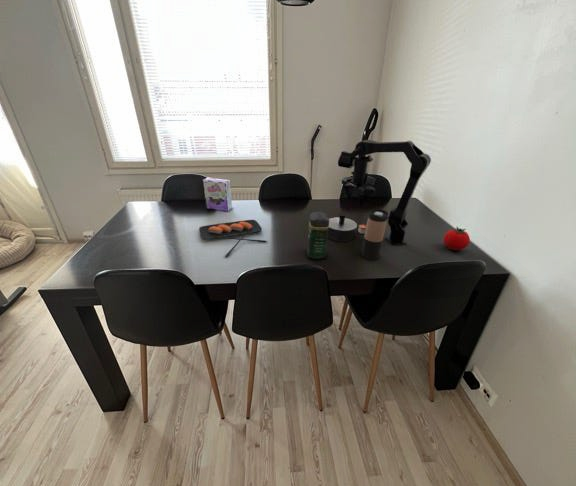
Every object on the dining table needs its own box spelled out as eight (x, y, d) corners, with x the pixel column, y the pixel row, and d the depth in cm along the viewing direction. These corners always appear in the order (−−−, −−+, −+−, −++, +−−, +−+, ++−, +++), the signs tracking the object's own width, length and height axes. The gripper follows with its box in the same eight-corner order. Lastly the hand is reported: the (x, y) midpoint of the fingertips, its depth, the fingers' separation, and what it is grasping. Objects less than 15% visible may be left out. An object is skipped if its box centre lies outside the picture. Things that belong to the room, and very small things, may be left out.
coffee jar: (326, 260, 124) (331, 219, 113) (308, 260, 123) (311, 219, 113) (323, 248, 132) (327, 209, 121) (306, 248, 131) (308, 209, 121)
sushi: (370, 229, 149) (371, 224, 147) (373, 232, 146) (374, 227, 144) (357, 230, 148) (358, 224, 146) (360, 233, 145) (361, 228, 143)
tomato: (468, 249, 135) (477, 229, 129) (460, 257, 129) (468, 236, 123) (445, 241, 141) (453, 221, 135) (436, 248, 135) (443, 228, 129)
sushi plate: (255, 222, 153) (255, 215, 151) (273, 249, 130) (273, 241, 128) (198, 229, 144) (197, 222, 142) (207, 260, 121) (206, 252, 119)
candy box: (206, 208, 167) (201, 179, 157) (211, 205, 171) (207, 176, 162) (228, 212, 163) (225, 182, 154) (232, 208, 168) (230, 179, 159)
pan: (358, 240, 139) (360, 229, 136) (331, 242, 137) (332, 232, 134) (347, 227, 150) (349, 217, 147) (322, 229, 148) (323, 219, 145)
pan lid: (361, 231, 136) (363, 220, 133) (331, 233, 133) (333, 222, 130) (349, 218, 148) (351, 208, 145) (321, 220, 145) (322, 209, 142)
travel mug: (365, 249, 132) (374, 207, 121) (381, 255, 128) (392, 212, 117) (357, 255, 127) (365, 212, 116) (373, 262, 123) (383, 217, 112)
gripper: (387, 174, 129) (380, 207, 138) (362, 163, 143) (357, 194, 152) (367, 176, 125) (361, 210, 134) (343, 165, 139) (339, 197, 148)
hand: (354, 203), depth 142 cm, fingers open, 9 cm apart
